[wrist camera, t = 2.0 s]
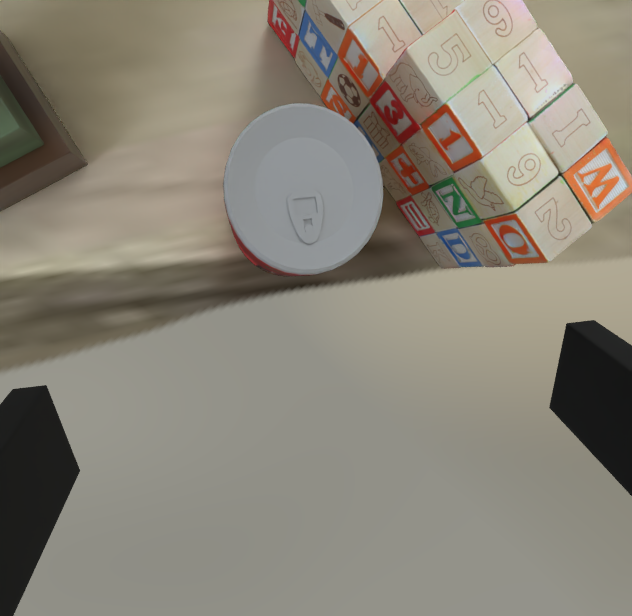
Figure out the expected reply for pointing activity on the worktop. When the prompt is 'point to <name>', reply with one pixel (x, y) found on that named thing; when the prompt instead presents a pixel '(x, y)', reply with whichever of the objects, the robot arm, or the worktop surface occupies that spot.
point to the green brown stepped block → (29, 134)
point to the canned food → (302, 190)
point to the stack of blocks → (463, 121)
